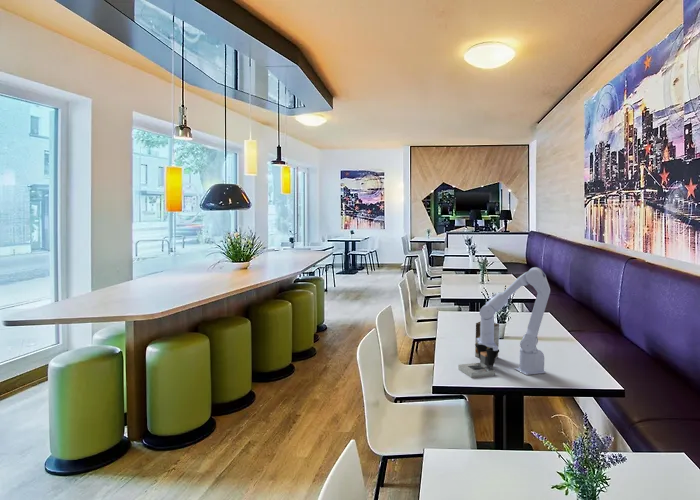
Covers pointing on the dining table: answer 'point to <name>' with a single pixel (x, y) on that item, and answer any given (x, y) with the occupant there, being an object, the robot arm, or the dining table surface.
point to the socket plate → (476, 370)
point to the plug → (484, 358)
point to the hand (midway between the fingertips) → (486, 362)
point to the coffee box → (496, 336)
